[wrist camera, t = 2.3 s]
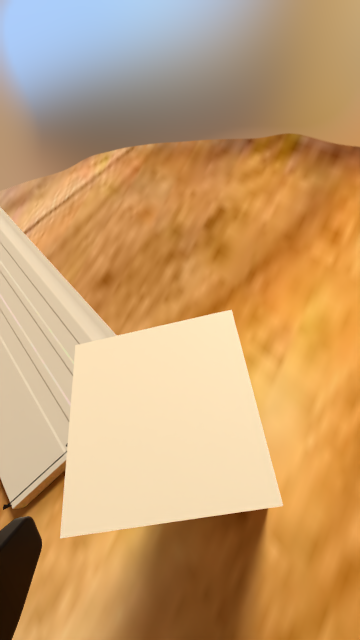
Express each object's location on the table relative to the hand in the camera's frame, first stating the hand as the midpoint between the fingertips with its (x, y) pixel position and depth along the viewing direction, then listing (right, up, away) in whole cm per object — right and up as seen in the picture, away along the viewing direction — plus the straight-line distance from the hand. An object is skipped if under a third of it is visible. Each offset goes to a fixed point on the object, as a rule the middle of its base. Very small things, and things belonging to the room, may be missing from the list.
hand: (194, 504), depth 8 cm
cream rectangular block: (+2, -3, +8) cm, 9 cm away
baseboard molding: (-15, +6, +20) cm, 25 cm away
